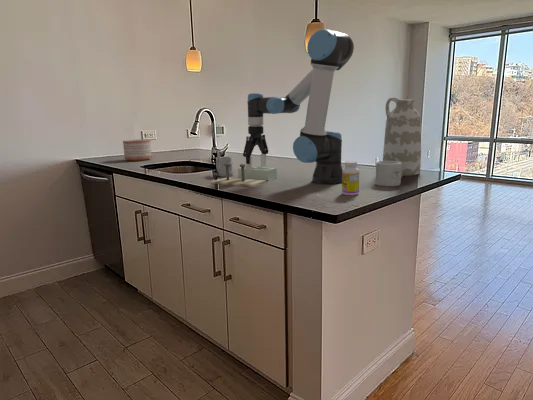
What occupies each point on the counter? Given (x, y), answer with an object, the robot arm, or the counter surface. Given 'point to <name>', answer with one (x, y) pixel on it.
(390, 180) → the mug
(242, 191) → the counter surface
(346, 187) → the supplement bottle
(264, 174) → the pale green block
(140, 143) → the planter
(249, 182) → the board
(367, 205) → the counter surface
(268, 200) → the counter surface
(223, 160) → the mug
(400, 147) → the vase
